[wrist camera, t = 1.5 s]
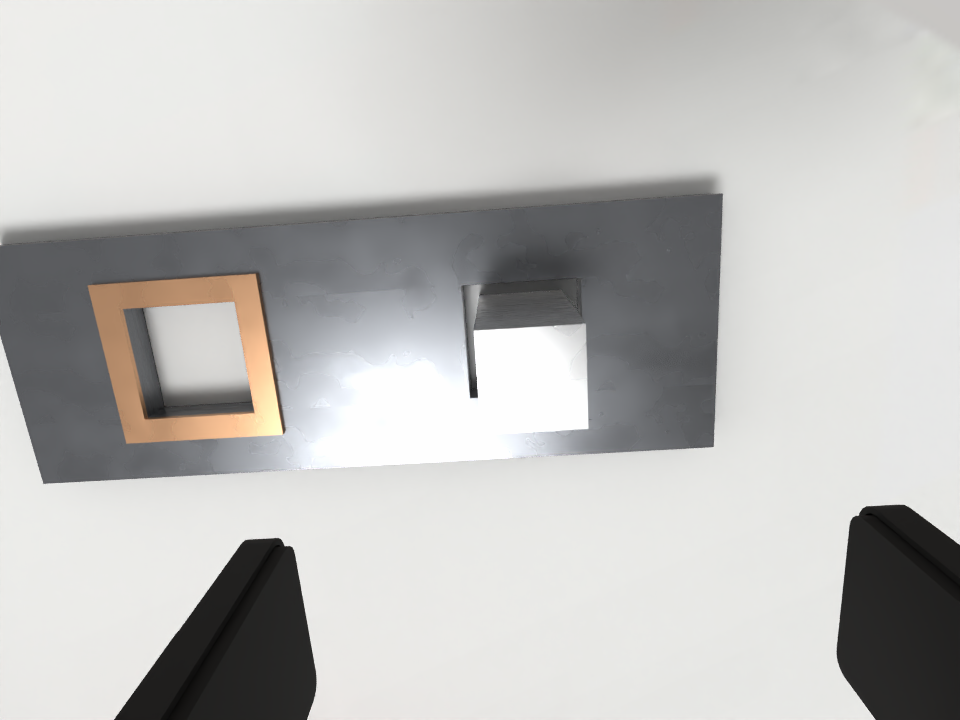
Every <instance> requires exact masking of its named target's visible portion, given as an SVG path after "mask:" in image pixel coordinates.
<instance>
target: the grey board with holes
mask: <svg viewBox="0 0 960 720" xmlns="http://www.w3.org/2000/svg"><path fill="white" fill-rule="evenodd" d="M722 200H723V194H700V195H686V196H673V197H659V198H645V199H631V200H617V201H603V202H589V203H575V204H562V205H548V206H534V207H520V208H506V209H492V210H478V211H465V212H451V213H437V214H423V215H409V216H395V217H381V218H368V219H354V220H340V221H326V222H312V223H298V224H284V225H271V226H257V227H243V228H229V229H215V230H201V231H187V232H174V233H160V234H146V235H132V236H118V237H104V238H90V239H76V240H63V241H49V242H35V243H21V244H7V245H0V336H1V339H2V343H3V346H4V350H5V353H6V357H7V360H8V363H9V367H10V370H11V374H12V377H13V381H14V384H15V387H16V391H17V394H18V398H19V401H20V405H21V408H22V412H23V415H24V418H25V422H26V425H27V429H28V432H29V436H30V439H31V442H32V446H33V449H34V453H35V456H36V460H37V463H38V466H39V470H40V473H41V477H42V480H43V484H47V483H65V482H83V481H101V480H120V479H138V478H156V477H175V476H193V475H211V474H229V473H248V472H266V471H284V470H302V469H321V468H339V467H357V466H376V465H394V464H412V463H430V462H449V461H467V460H485V459H503V458H522V457H540V456H558V455H577V454H595V453H613V452H631V451H650V450H668V449H686V448H704V447H714V422H715V394H716V366H717V339H718V311H719V283H720V256H721V228H722ZM565 278H577V302H578V313H579V315H580V316H581V318H582V319H583V320H584V322H585V323H586V349H587V391H588V429H576V430H558V431H540V432H522V433H505V434H487V435H481V423H480V410H479V396H478V388H476V389H471V381H470V368H469V355H468V343H467V330H466V317H465V304H464V291H463V285H476V284H490V283H505V282H520V281H535V280H550V279H565ZM220 302H235V307H236V313H237V318H238V324H239V329H240V335H241V340H242V346H243V351H244V357H245V362H246V368H247V373H248V379H249V384H250V390H251V395H252V401H253V402H242V403H225V404H208V405H192V406H175V407H164V403H163V399H162V394H161V390H160V385H159V381H158V376H157V372H156V367H155V363H154V358H153V354H152V350H151V345H150V341H149V336H148V332H147V327H146V323H145V318H144V314H143V309H142V308H146V307H161V306H176V305H191V304H205V303H220Z"/></svg>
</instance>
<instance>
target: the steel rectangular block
mask: <svg viewBox="0 0 960 720" xmlns="http://www.w3.org/2000/svg"><path fill="white" fill-rule="evenodd" d="M474 343H475V356H476V370H477V383H478V396H479V410H480V423H481V435H487V434H505V433H522V432H540V431H558V430H576V429H588V391H587V349H586V323H585V322H584V320H583V319H582V318H581V316H580V315H579V313H578V312H577V311H576V309H575V308H574V306H573V305H572V304H571V302H570V301H569V300H568V298H567V297H566V295H565V294H564V293H563V291H562V290H550V291H535V292H520V293H505V294H490V295H479V300H478V306H477V313H476V319H475V325H474Z"/></svg>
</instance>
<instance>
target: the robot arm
mask: <svg viewBox="0 0 960 720" xmlns="http://www.w3.org/2000/svg"><path fill="white" fill-rule="evenodd" d="M837 660H838V663H839V667H840V669H841V671H842V673H843V675H844V677H845V678H846V680H847V681H848V682H849V684H850V685H851V687H852V688H853V689H854V691H855V692H856V693H857V695H858V696H859V697H860V699H861V700H862V702H863V703H864V704H865V706H866V707H867V708H868V710H869V711H870V712H871V714H872V715H873V717H874V718H875V719H876V720H960V545H959V544H958V543H956V542H955V541H954V540H952V539H951V538H950V537H948V536H947V535H946V534H944V533H943V532H942V531H940V530H939V529H938V528H936V527H935V526H934V525H932V524H931V523H930V522H928V521H927V520H926V519H924V518H923V517H922V516H920V515H919V514H918V513H916V512H915V511H913V510H912V509H911V508H909V507H907V506H905V505H885V506H866V507H865V508H863V509H862V510H861V512H860V513H859V516H855V517H853V518H852V520H851V522H850V527H849V537H848V546H847V556H846V565H845V575H844V585H843V594H842V604H841V613H840V623H839V632H838V642H837ZM315 692H316V670H315V665H314V659H313V654H312V648H311V642H310V637H309V631H308V625H307V620H306V614H305V608H304V603H303V597H302V592H301V586H300V580H299V575H298V569H297V563H296V558H295V553H294V550H293V548H292V547H291V546H284V544H283V542H282V540H281V539H279V538H271V539H253V540H245V541H244V542H243V543H242V544H241V545H240V547H239V548H238V549H237V551H236V552H235V554H234V555H233V556H232V558H231V559H230V561H229V562H228V563H227V565H226V566H225V567H224V569H223V570H222V572H221V573H220V574H219V576H218V577H217V579H216V580H215V581H214V583H213V584H212V586H211V587H210V588H209V590H208V591H207V593H206V594H205V595H204V597H203V598H202V599H201V601H200V602H199V604H198V605H197V606H196V608H195V609H194V611H193V612H192V613H191V615H190V616H189V618H188V619H187V620H186V622H185V623H184V625H183V626H182V627H181V629H180V630H179V631H178V632H177V633H176V634H175V636H174V637H173V639H172V640H171V641H170V643H169V644H168V646H167V647H166V648H165V650H164V651H163V653H162V654H161V655H160V657H159V658H158V659H157V661H156V662H155V664H154V665H153V666H152V668H151V669H150V671H149V672H148V673H147V675H146V676H145V677H144V679H143V680H142V682H141V683H140V684H139V686H138V687H137V689H136V690H135V691H134V693H133V694H132V696H131V697H130V698H129V700H128V701H127V702H126V704H125V705H124V707H123V708H122V709H121V711H120V712H119V714H118V715H117V716H116V718H115V719H114V720H307V718H308V715H309V712H310V709H311V706H312V704H313V701H314V697H315Z"/></svg>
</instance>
